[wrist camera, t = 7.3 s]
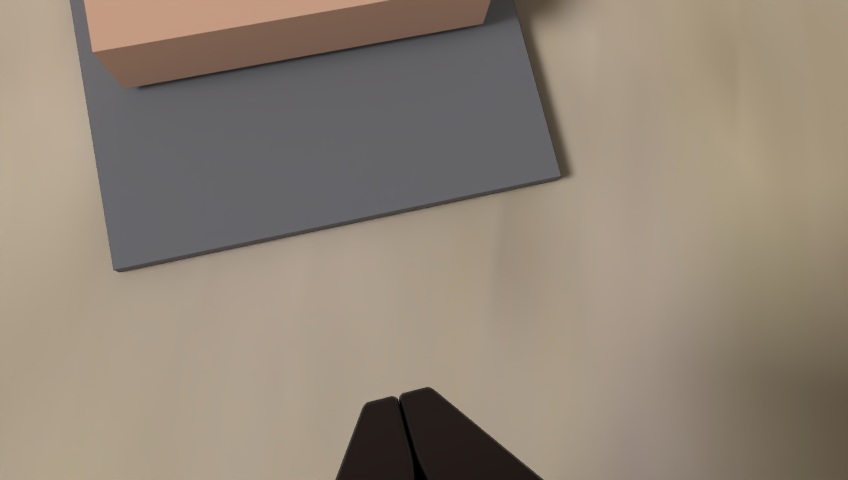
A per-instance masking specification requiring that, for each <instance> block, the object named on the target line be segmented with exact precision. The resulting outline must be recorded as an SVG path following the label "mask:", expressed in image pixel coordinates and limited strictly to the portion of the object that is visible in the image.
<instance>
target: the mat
mask: <svg viewBox="0 0 848 480" xmlns="http://www.w3.org/2000/svg"><path fill="white" fill-rule="evenodd" d="M70 4H71V10H72V16H73V23H74V29H75V35H76V41H77V47H78V54H79V60H80V66H81V72H82V78H83V85H84V91H85V97H86V103H87V109H88V116H89V122H90V128H91V134H92V140H93V146H94V153H95V159H96V165H97V171H98V177H99V184H100V190H101V196H102V202H103V208H104V215H105V221H106V227H107V233H108V239H109V246H110V252H111V258H112V264H113V270H115V271H117V272H123V271H128V270H133V269H137V268H142V267H147V266H152V265H156V264H161V263H166V262H171V261H175V260H180V259H185V258H190V257H194V256H199V255H204V254H209V253H213V252H218V251H223V250H227V249H232V248H237V247H242V246H246V245H251V244H256V243H261V242H265V241H270V240H275V239H280V238H284V237H289V236H294V235H299V234H303V233H308V232H313V231H318V230H322V229H327V228H332V227H337V226H341V225H346V224H351V223H356V222H360V221H365V220H370V219H375V218H379V217H384V216H389V215H394V214H398V213H403V212H408V211H413V210H417V209H422V208H427V207H431V206H436V205H441V204H446V203H450V202H455V201H460V200H465V199H469V198H474V197H479V196H484V195H488V194H493V193H498V192H503V191H507V190H512V189H517V188H522V187H526V186H531V185H536V184H541V183H545V182H550V181H555V180H557V179H558V178H559V177H560V176H561V174H560V171H559V167H558V163H557V160H556V156H555V152H554V149H553V145H552V141H551V138H550V134H549V130H548V127H547V123H546V119H545V116H544V112H543V108H542V105H541V101H540V97H539V94H538V90H537V86H536V83H535V79H534V75H533V72H532V68H531V64H530V61H529V57H528V53H527V50H526V46H525V42H524V39H523V35H522V31H521V28H520V24H519V20H518V17H517V13H516V9H515V6H514V2H513V0H491V1H490V4H489V7H488V10H487V13H486V16H485V19H484V22H483V24H479V25H473V26H468V27H462V28H457V29H451V30H446V31H440V32H435V33H429V34H423V35H418V36H412V37H407V38H401V39H396V40H390V41H385V42H379V43H374V44H368V45H363V46H357V47H352V48H346V49H341V50H335V51H330V52H324V53H319V54H313V55H308V56H302V57H297V58H291V59H286V60H280V61H275V62H269V63H264V64H258V65H253V66H247V67H242V68H236V69H231V70H225V71H220V72H214V73H209V74H203V75H198V76H192V77H187V78H181V79H176V80H170V81H165V82H159V83H154V84H148V85H143V86H137V87H132V88H126V89H124V88H123V87H122V86H121V85H120V84H119V82H118V81H117V80H116V79H115V78H114V77H113V75H112V74H111V73H110V72H109V71H108V70H107V68H106V67H105V66H104V65H103V64H102V63H101V62H100V60H99V59H98V58H97V57H96V56H95V55H94V53H93V52H92V46H91V40H90V34H89V28H88V22H87V16H86V10H85V4H84V0H70Z"/></svg>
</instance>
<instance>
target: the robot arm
mask: <svg viewBox="0 0 848 480" xmlns="http://www.w3.org/2000/svg"><path fill="white" fill-rule="evenodd" d="M335 480H543V479H542V478H541V477H540V476H538V475H537V474H536V473H535V472H534V471H532V470H531V469H530V468H529V467H527V466H526V465H525V464H524V463H523V462H521V461H520V460H519V459H518V458H516V457H515V456H514V455H513V454H512V453H510V452H509V451H508V450H507V449H506V448H504V447H503V446H502V445H501V444H499V443H498V442H497V441H496V440H495V439H493V438H492V437H491V436H490V435H489V434H487V433H486V432H485V431H484V430H482V429H481V428H480V427H479V426H478V425H476V424H475V423H474V422H473V421H472V420H470V419H469V418H468V417H467V416H465V415H464V414H463V413H462V412H461V411H459V410H458V409H457V408H456V407H454V406H453V405H452V404H451V403H450V402H448V401H447V400H446V399H445V398H444V397H442V396H441V395H440V394H439V393H437V392H436V391H435V390H434V389H432V388H430V387H425V388H421V389H417V390H413V391H410V392H406V393H403V394H401V395H400V397H399V401H398V399H397V398H396V397H394V396H390V397H386V398H383V399H379V400H375V401H371V402H368V403H366V404H365V405H364V406H363V408H362V411H361V413H360V416H359V418H358V421H357V424H356V426H355V429H354V432H353V434H352V437H351V440H350V442H349V445H348V448H347V450H346V453H345V456H344V458H343V461H342V464H341V466H340V469H339V472H338V474H337V477H336V479H335Z"/></svg>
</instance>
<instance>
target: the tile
mask: <svg viewBox="0 0 848 480" xmlns="http://www.w3.org/2000/svg"><path fill="white" fill-rule="evenodd" d="M490 1H491V0H84V4H85V10H86V16H87V22H88V28H89V34H90V40H91V46H92V52H93V53H94V55H95V56H96V57H97V58H98V59H99V60H100V62H101V63H102V64H103V65H104V66H105V67H106V68H107V70H108V71H109V72H110V73H111V74H112V75H113V77H114V78H115V79H116V80H117V81H118V82H119V84H120V85H121V86H122V87H123V88H124V89H126V88H132V87H137V86H143V85H148V84H154V83H159V82H165V81H170V80H176V79H181V78H187V77H192V76H198V75H203V74H209V73H214V72H220V71H225V70H231V69H236V68H242V67H247V66H253V65H258V64H264V63H269V62H275V61H280V60H286V59H291V58H297V57H302V56H308V55H313V54H319V53H324V52H330V51H335V50H341V49H346V48H352V47H357V46H363V45H368V44H374V43H379V42H385V41H390V40H396V39H401V38H407V37H412V36H418V35H423V34H429V33H435V32H440V31H446V30H451V29H457V28H462V27H468V26H473V25H479V24H483V22H484V19H485V16H486V13H487V10H488V7H489V4H490Z"/></svg>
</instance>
